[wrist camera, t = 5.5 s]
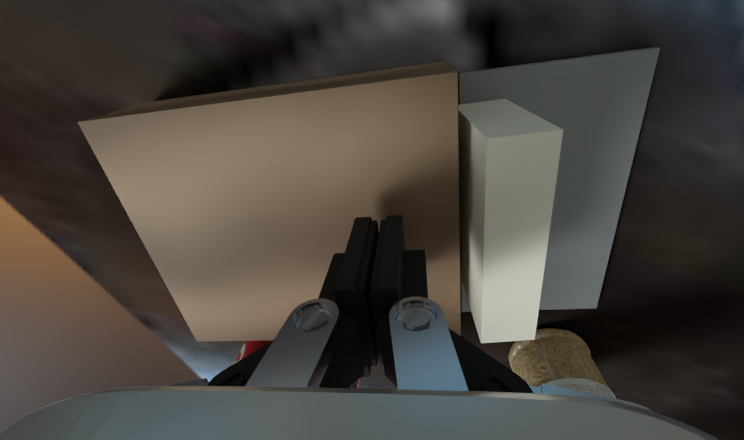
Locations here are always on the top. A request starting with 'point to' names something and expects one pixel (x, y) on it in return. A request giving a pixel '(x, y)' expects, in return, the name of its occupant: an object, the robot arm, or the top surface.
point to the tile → (505, 214)
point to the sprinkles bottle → (557, 362)
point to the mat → (578, 155)
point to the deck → (286, 188)
